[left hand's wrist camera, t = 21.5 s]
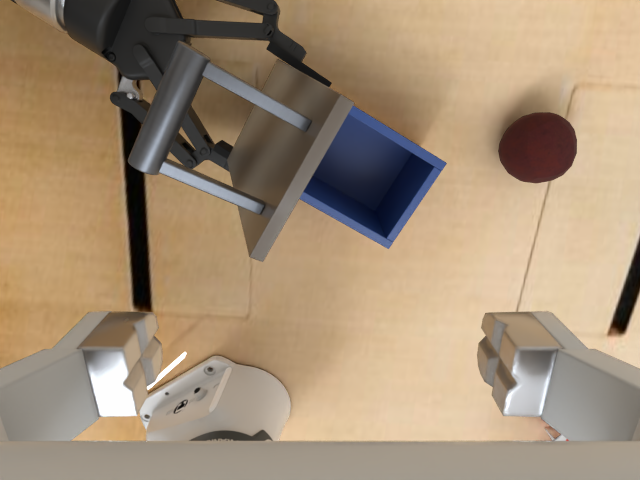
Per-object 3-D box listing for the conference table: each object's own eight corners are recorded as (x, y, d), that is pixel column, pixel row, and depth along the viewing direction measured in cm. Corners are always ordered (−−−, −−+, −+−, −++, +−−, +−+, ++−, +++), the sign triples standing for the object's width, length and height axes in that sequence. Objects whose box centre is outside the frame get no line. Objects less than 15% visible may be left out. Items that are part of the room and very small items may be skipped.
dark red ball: (546, 98, 47) (583, 102, 40) (560, 162, 49) (597, 175, 43) (482, 126, 48) (508, 133, 41) (499, 186, 50) (526, 203, 44)
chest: (421, 148, 48) (447, 163, 38) (376, 218, 51) (388, 249, 41) (292, 68, 46) (282, 61, 35) (251, 147, 48) (232, 161, 38)
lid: (355, 102, 20) (193, 1, 17) (263, 262, 23) (108, 205, 20) (286, 64, 35) (193, 6, 32) (235, 164, 38) (144, 121, 34)
